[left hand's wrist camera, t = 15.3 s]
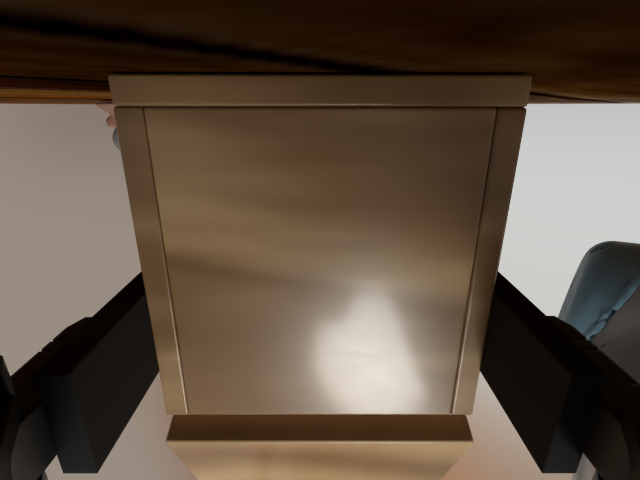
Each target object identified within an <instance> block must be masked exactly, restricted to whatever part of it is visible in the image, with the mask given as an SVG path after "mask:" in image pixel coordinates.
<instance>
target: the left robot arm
mask: <svg viewBox="0 0 640 480" xmlns="http://www.w3.org/2000/svg"><path fill="white" fill-rule="evenodd" d="M480 371H481V373H482V375H483V376H484V378H485V379H486V381H487V383H488V384H489V386H490V388H491V389H492V391H493V393H494V394H495V396H496V398H497V399H498V401H499V403H500V404H501V406H502V408H503V409H504V411H505V413H506V414H507V416H508V417H509V419H510V421H511V422H512V424H513V426H514V427H515V429H516V430H517V432H518V434H519V436H520V437H521V439H522V441H523V442H524V444H525V445H526V447H527V449H528V450H529V452H530V454H531V455H532V457H533V459H534V460H535V462H536V464H537V465H538V467H539V468H540V470H541V472H542V473H573V477H572V480H640V244H636V243H627V242H618V241H607V242H602V243H599V244H597V245H595V246H593V247H592V248H591V249H589V250H588V252H587V253H586V254H585V256H584V257H583V259H582V261H581V263H580V265H579V267H578V269H577V272H576V274H575V276H574V278H573V281H572V283H571V285H570V288H569V290H568V293H567V295H566V298H565V300H564V303H563V305H562V308H561V311H560V313H559V316H558V318H557V317H555V316H546V315H545V314H544V313H542V312H541V311H540V310H539V309H538V308H537V307H536V306H535V305H534V304H533V303H532V302H531V301H529V300H528V299H527V298H526V297H525V296H524V295H523V294H522V293H521V292H520V291H519V290H518V289H516V288H515V287H514V286H513V285H512V284H511V283H510V282H509V281H508V280H507V279H506V278H505V277H504V276H502V275H501V274H500V273H499V272H497V277H496V283H495V289H494V294H493V300H492V305H491V311H490V316H489V322H488V328H487V333H486V339H485V344H484V350H483V356H482V361H481V367H480ZM158 372H159V365H158V360H157V354H156V348H155V343H154V337H153V331H152V326H151V320H150V315H149V309H148V303H147V298H146V292H145V287H144V281H143V275H142V271H141V272H140V273H139V274H138V275H137V276H136V277H135V278H134V279H133V280H132V281H131V282H130V283H129V284H127V285H126V286H125V287H124V288H123V289H122V290H121V291H120V292H119V293H118V294H117V295H116V296H114V297H113V298H112V299H111V300H110V301H109V302H108V303H107V304H106V305H105V306H104V307H103V308H101V309H100V310H99V311H98V312H97V313H96V314H95V315H94V316H93V317H85V318H83V319H81V320H80V321H78V322H76V323H74V324H72V325H70V326H68V327H67V328H66V329H64V330H63V331H62V332H61V333H60V334H59V335H58V336H56V337H55V338H54V339H53V342H50V343H48V344H47V345H46V346H45V347H44V348H43V349H42V351H41V352H38V353H37V354H36V355H35V356H33V357H32V358H31V359H30V360H29V361H28V362H27V363H25V364H24V365H23V366H22V367H21V368H20V369H19V370H17V371H16V372H15V373H14V374H13V375H12V376H11V377H10V375H9V372H8V370H7V367H6V364H5V361H4V359H3V356H1V355H0V480H48V478H47V475H46V472H45V469H46V468H47V467H48V465H49V464H50V463H51V461H52V460H53V459H54V457H55V456H56V455H57V456H58V459H59V462H60V465H61V468H62V470H63V473H98V471H99V470H100V468H101V466H102V465H103V463H104V461H105V460H106V458H107V456H108V455H109V453H110V451H111V450H112V448H113V446H114V445H115V443H116V441H117V440H118V438H119V437H120V435H121V433H122V432H123V430H124V428H125V427H126V425H127V423H128V422H129V420H130V418H131V417H132V415H133V414H134V412H135V410H136V409H137V407H138V405H139V404H140V402H141V400H142V399H143V397H144V395H145V394H146V392H147V390H148V389H149V387H150V385H151V384H152V382H153V381H154V379H155V377H156V375H157V374H158Z"/></svg>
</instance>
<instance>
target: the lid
mask: <svg viewBox="0 0 640 480" xmlns="http://www.w3.org/2000/svg"><path fill="white" fill-rule="evenodd" d="M166 443H167V444H168V445H169V446H170V447H171V449H172V450H173V451H174V452H175V453H176V454H177V456H178V457H179V458H180V459H181V460H182V461H183V463H184V464H185V465H186V466H187V467H188V468H189V470H190V471H191V472H192V473H193V474H194V475H195V477H196V478H197V479H198V480H441V479H442V478H443V477H444V476H445V474H446V473H447V472H448V471H449V470H450V469H451V468H452V466H453V465H454V464H455V463H456V462H457V461H458V459H459V458H460V457H461V456H462V455H463V454H464V453H465V451H466V450H467V449H468V448H469V447H470V446H471V444H472V443H473V438H472V434H471V431H470V427H469V424H468V420H467V417H466V416H465V415H173V417H172V421H171V424H170V428H169V431H168V435H167V438H166Z"/></svg>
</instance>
